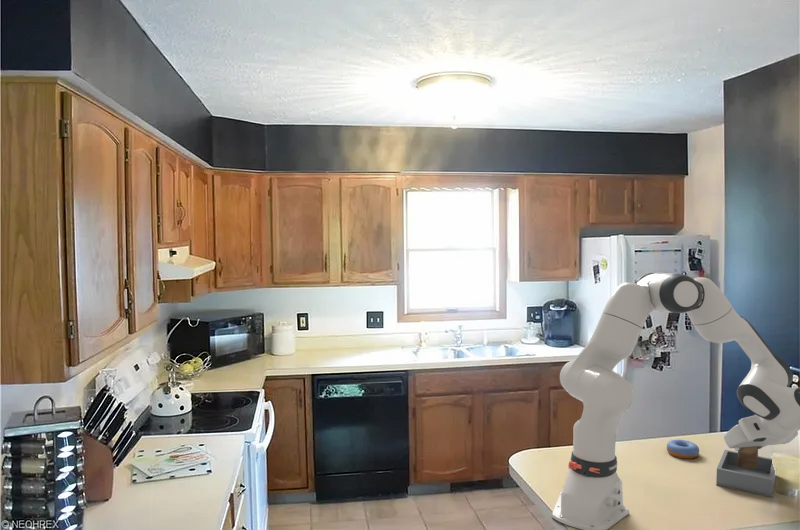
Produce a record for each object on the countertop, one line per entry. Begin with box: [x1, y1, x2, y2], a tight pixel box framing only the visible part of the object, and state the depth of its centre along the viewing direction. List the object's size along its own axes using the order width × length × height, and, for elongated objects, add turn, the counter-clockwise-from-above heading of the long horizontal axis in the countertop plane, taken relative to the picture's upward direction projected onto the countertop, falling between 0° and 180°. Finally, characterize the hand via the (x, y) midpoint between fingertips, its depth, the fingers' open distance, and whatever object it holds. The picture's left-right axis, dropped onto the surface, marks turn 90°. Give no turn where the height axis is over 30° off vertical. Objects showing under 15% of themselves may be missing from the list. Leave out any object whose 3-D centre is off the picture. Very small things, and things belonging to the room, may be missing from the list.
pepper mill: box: [737, 446, 759, 469], centre depth 174 cm, size 5×5×11 cm
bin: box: [715, 449, 776, 498], centre depth 175 cm, size 18×14×5 cm
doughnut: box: [666, 439, 700, 460], centre depth 195 cm, size 10×10×5 cm
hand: (746, 447), depth 175 cm, fingers closed on pepper mill, 5 cm apart
